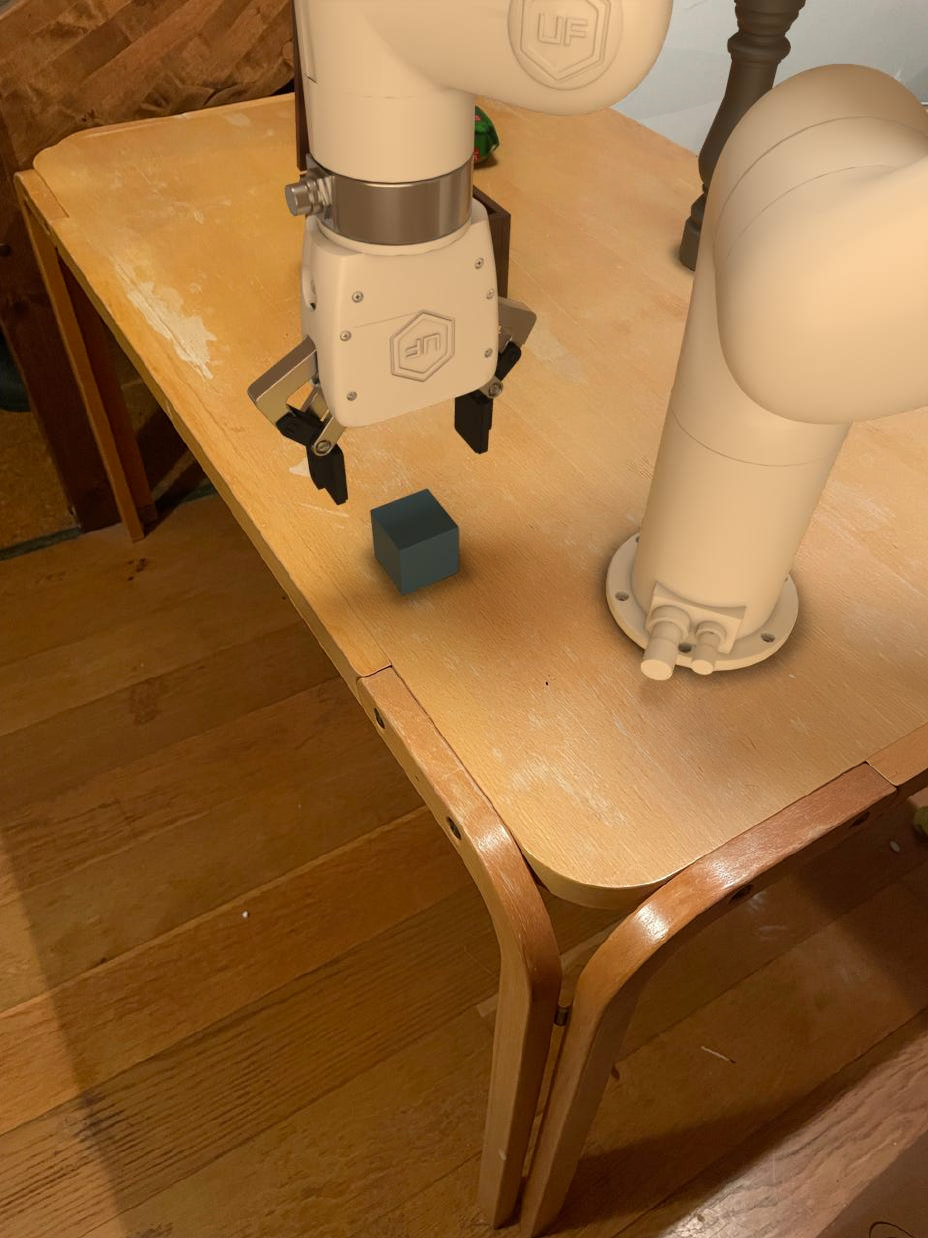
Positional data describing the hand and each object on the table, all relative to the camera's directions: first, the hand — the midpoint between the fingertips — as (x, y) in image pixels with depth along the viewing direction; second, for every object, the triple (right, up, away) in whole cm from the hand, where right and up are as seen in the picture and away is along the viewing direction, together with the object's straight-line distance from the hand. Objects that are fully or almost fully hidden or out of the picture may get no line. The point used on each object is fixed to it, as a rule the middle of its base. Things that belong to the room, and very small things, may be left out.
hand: (403, 464), depth 55 cm
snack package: (0, +43, +47) cm, 64 cm away
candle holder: (+28, +26, +34) cm, 51 cm away
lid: (-4, +37, +20) cm, 42 cm away
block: (0, -6, +7) cm, 9 cm away
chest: (-2, +22, +30) cm, 37 cm away
